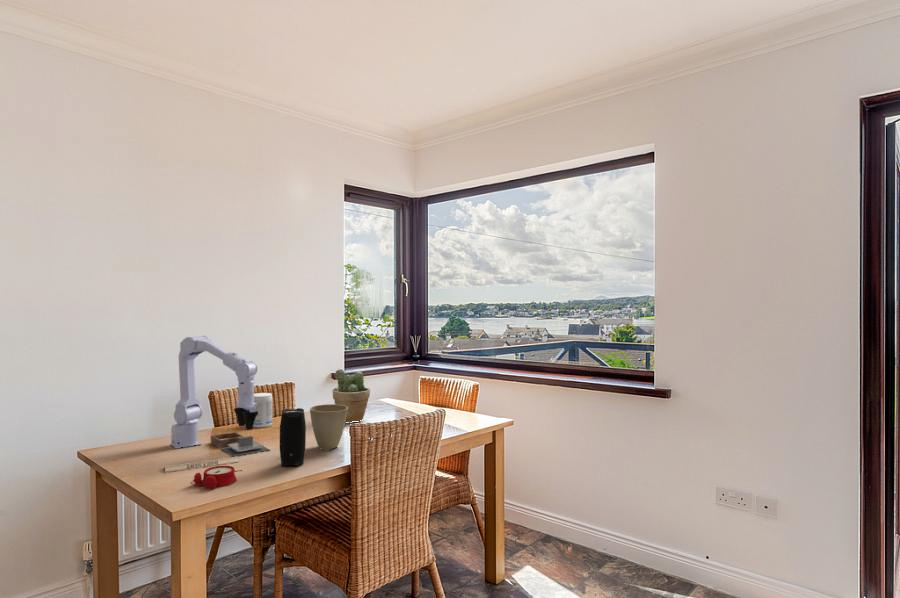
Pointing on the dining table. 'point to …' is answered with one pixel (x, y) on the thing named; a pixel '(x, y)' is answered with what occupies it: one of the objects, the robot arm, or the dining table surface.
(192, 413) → the robot arm
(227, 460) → the newspaper
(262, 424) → the supplement tub
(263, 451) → the dark gray board
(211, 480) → the alarm clock
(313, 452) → the dining table surface
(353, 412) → the potted plant
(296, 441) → the portable speaker
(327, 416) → the plant pot
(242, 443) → the lid
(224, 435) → the walnut box
